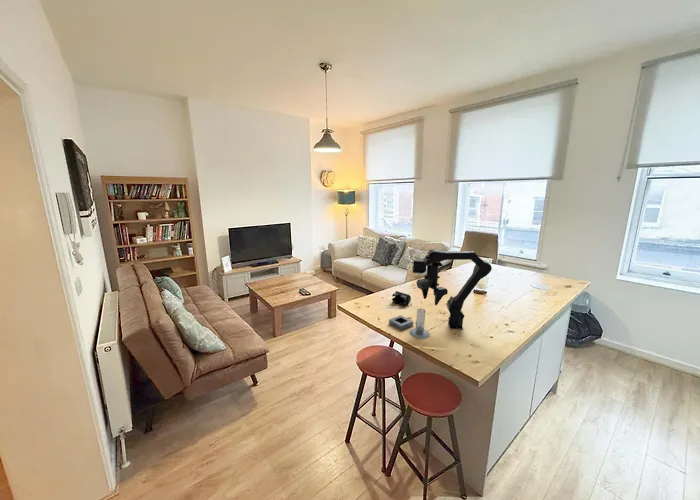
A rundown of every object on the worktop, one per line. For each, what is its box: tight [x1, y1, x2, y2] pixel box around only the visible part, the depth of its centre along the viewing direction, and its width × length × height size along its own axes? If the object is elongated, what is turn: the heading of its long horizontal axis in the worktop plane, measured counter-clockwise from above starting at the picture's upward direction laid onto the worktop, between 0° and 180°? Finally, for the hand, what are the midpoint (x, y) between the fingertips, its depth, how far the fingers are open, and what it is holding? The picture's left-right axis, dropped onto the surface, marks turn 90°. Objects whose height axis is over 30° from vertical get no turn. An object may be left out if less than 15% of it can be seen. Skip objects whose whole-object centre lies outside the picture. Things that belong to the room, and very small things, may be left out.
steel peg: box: [415, 308, 426, 335], centre depth 142 cm, size 4×4×12 cm
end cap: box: [391, 290, 412, 307], centre depth 182 cm, size 10×7×7 cm
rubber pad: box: [409, 328, 431, 340], centre depth 144 cm, size 10×10×1 cm
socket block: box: [388, 315, 414, 331], centre depth 152 cm, size 9×9×3 cm
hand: (430, 301), depth 152 cm, fingers open, 9 cm apart
